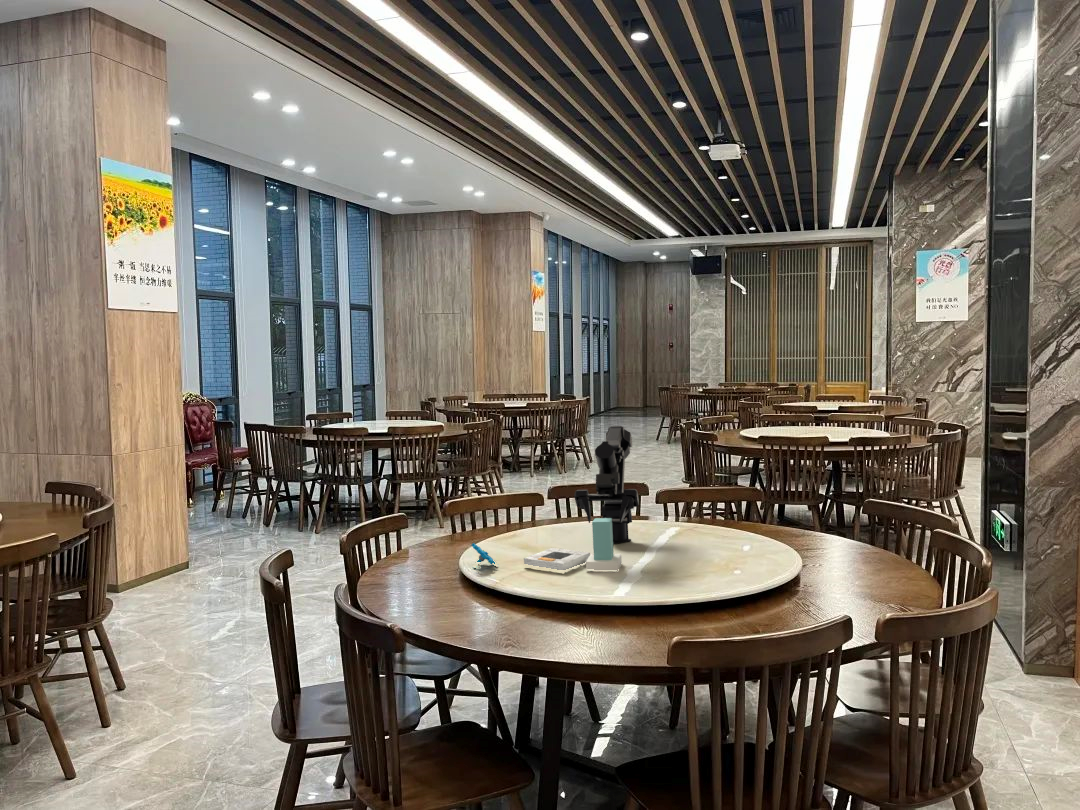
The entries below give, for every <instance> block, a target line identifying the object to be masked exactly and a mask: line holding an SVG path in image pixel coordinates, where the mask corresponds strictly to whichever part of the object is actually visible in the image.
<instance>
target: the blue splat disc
mask: <svg viewBox="0 0 1080 810" xmlns="http://www.w3.org/2000/svg"><path fill="white" fill-rule="evenodd" d="M470 546H471V547H472V548H473V549H474V550H475V551H476V552H477V553H478V554H479V556H478V559H479V560H478V559H477V560H478V561H477V560H476V561H477V562H481V563H482V562H485V560H487V562H488V563H489V564H491V565H492V563H494V564H495V562H496V561H495V560H494V559H493V557H491V556H490V555H489V553H488V552H487V551H486V550H484V549H482V548H481V547H480V546H478V545H477V544H476V543H474V542H473V543H472V544H471V545H470ZM493 560H494V561H495V562H494V561H493Z"/></svg>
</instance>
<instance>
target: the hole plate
mask: <svg viewBox="0 0 1080 810" xmlns="http://www.w3.org/2000/svg"><path fill="white" fill-rule="evenodd" d="M590 554H591V552H588V551H580V550H574V549H564V548H559V547H558V548H557V547H550V548H547V549H545V550H542V551H539V552H538V553H535V554H532V555H529V556H527V557H524V558H523V565H524V564H528V565H533V566H539V567H546V568H551V569H557V570H566V569H569V568H572V567H574V566H577V565H580V564H583V563H585V562H586V561H587V559H588V558H589V556H590Z"/></svg>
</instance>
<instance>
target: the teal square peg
mask: <svg viewBox="0 0 1080 810" xmlns="http://www.w3.org/2000/svg"><path fill="white" fill-rule="evenodd" d="M591 527H592V545H593V546H592V548H593V554H594V560H612V558H613V556H614V554H615V553H614V543H613V532H612V518H603V517H601V518H600V517H599V518H598V517H597V518H594V519H593V520H592V522H591Z"/></svg>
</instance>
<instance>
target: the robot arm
mask: <svg viewBox="0 0 1080 810" xmlns="http://www.w3.org/2000/svg"><path fill="white" fill-rule="evenodd" d="M632 447H633V437H632V434H631V432H630V431H629V430H627V429H625V427H624V426H622V425H610V426H609V427H608V428H607V432H605V441H604V440H603V441H602V442H600V444H599V445H598V446H597V447H595V450H594V456H595V460H596V463H597V467H598V468H599V471H598V473H596V474H595V491H596V493H589V489H577V490H575V492H574V494H573V497H574V501H575V506H576V507H577V508H580V509H581V510H584V511H585V514H586V517H587V521H588V523H589V524H591V518H592V517H591V513H592V512H591V502H604V503H603V505H602V507H601V513H602V518H612V532H613V545H614V544H615V545H616V544H621V543H627V542H632V538H629V524H630V523H632V522H633V516H632V510H634V509H635V508H636V507H637V508H638V507H639V505H640V504H639V502H640V501H639V500H640V499H639V493H638V492H639V491H638V490H637V489H636V488H627V489H626V488H624V487H625V486H624V485H625V464H626V459H627V458H628V456H629V455H630V454H631V453H630V452H631V448H632Z"/></svg>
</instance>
